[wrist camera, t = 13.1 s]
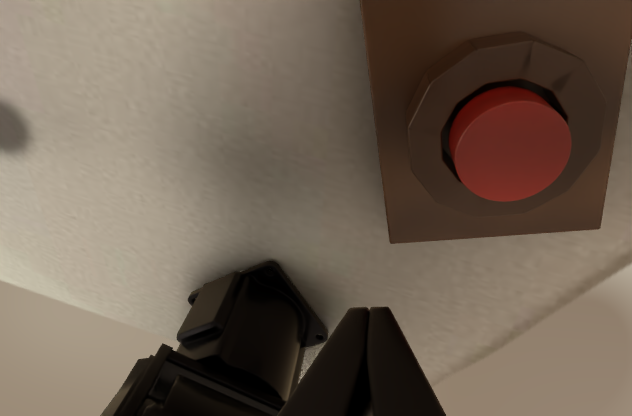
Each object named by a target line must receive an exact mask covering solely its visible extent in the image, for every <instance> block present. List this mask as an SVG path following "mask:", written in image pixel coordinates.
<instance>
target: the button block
mask: <svg viewBox="0 0 632 416" xmlns="http://www.w3.org/2000/svg"><path fill="white" fill-rule="evenodd" d="M360 7H361V15H362V23H363V31H364V39H365V47H366V55H367V63H368V71H369V79H370V87H371V95H372V103H373V111H374V119H375V127H376V135H377V143H378V151H379V159H380V167H381V175H382V183H383V191H384V199H385V207H386V215H387V223H388V231H389V239H390V243H391V244H395V243H410V242H424V241H438V240H452V239H466V238H481V237H495V236H509V235H523V234H537V233H552V232H566V231H580V230H594V229H600V226H601V220H602V213H603V207H604V201H605V195H606V189H607V183H608V177H609V171H610V165H611V159H612V153H613V147H614V141H615V135H616V128H617V122H618V116H619V110H620V104H621V98H622V92H623V86H624V80H625V74H626V68H627V62H628V56H629V50H630V43H631V37H632V0H360ZM506 86H514V87H521V88H525V89H528V90H531V91H533V92H535V93H537V94H538V95H539V96H541V97H542V98H543V99H544V100H545V101H546V102H547V103H548V104H549V105H550V106H551V107H553V108H554V109H555V110H556V111H557V112H558V113H559V114H560V115H561V116H562V117H563V119H564V120H565V121H566V123H567V125H568V127H569V130H570V133H571V140H572V144H571V152H570V156H569V159H568V162H567V164H566V166H565V168H564V169H563V171H562V172H561V174H560V175H559V176H558V177H557V179H556V180H555V181H554V182H553V183H551V184H550V185H549V186H548V187H546V188H545V189H544V190H542V191H540V192H539V193H537V194H535V195H532V196H530V197H527V198H524V199H521V200H516V201H505V202H502V201H493V200H488V199H485V198H482V197H480V196H478V195H476V194H474V193H473V192H471V191H470V190H469V189H468V188H466V186H465V185H464V184H463V183H462V182H461V180H460V178H459V176H458V174H457V172H456V168H455V165H454V162H453V159H452V156H451V152H450V149H449V133H450V129H451V126H452V123H453V121H454V119H455V117H456V115H457V114H458V112H459V111H460V110H461V109H462V108H463V106H464V105H466V104H467V103H468V102H469V101H470V100H471V99H473V98H474V97H476V96H477V95H479V94H481V93H483V92H485V91H488V90H491V89H494V88H498V87H506Z"/></svg>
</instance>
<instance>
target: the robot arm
mask: <svg viewBox="0 0 632 416" xmlns="http://www.w3.org/2000/svg"><path fill="white" fill-rule="evenodd" d="M268 269H272V270H273V271H269V270H268ZM188 302H189V303H190V305H191V306H192V308H191V309H190V311H189V313H188V315H187V317H186V319H185V320H184V322H183V324H182V326H181V328H180V330H179V331H178V333H177V340H178V341H179V342H180V345H179V347H178V349H177V351H173V350H172V349H173V348H172V347H170V346H167V345H165V344H162V345H161V347H160V348H159V350H158V352H157V354H156V355H155V356H153V355H150V357H149V358H145V359H139V360H138V361H137V363H136V364H135V366H134V367H133V369H132V371H131V372H130V374H129V376H128V377H127V379H126V381H125V382H124V384H123V385H122V387H121V389H120V390H119V392H118V393H117V394H116V395H115V397H114V398H113V399H112V401H111V402H110V403H109V405H108V406H107V407H106V409H105V410H104V411H103V413H102V414H101V415H100V416H446V414H445V412H444V411H443V408H442V407H441V405H440V403H439V401H438V399H437V397H436V395H435V393H434V391H433V390H432V388H431V386H430V384H429V382H428V380H427V378H426V376H425V374H424V372H423V371H422V369H421V367H420V365H419V363H418V361H417V359H416V357H415V355H414V353H413V352H412V350H411V348H410V346H409V344H408V342H407V340H406V338H405V336H404V334H403V333H402V331H401V329H400V327H399V325H398V323H397V321H396V319H395V317H394V315H393V314H392V312H391V310H390V308H389V307H371V308H370V310H369V309H368V308H367V307H353V308H350V309H349V310H348V311H347V313H346V314H345V316H344V317H343V319H342V320H341V321H340V323H339V324H338V326H337V327H336V329H335V330H334V332H333V333H332V335H331V336H330V338H329V339H328V330H327V329H326V328H325V326H324V325H323V324H322V322H321V321H320V319H319V318H318V317H317V315H316V314H315V313H314V311H313V310H312V309H311V307H310V306H309V305H308V303H307V302H306V301H305V299H304V298H303V297H302V295H301V294H300V293H299V291H298V290H297V289H296V287H295V286H294V285H293V283H292V282H291V281H290V279H289V278H288V277H287V275H286V274H285V273H284V271H283V270H282V269H281V267H280V266H279V265H278V264H277V263H276V262H274V261H266V262H263V263H261V264H259V265H256V266H254V267H251V268H249V269H246V270H244V271H241V272H240V271H236V272H233V273H231V274H228V275H226V276H223V277H221V278H218V279H216V280H214V281H211V282H209V283H206V284H205V285H204V286H203V287H202V288H200V289H197V290H195V291H193V292H191V294H190V296H189V298H188ZM318 334H321V335H318ZM327 339H328V341H327ZM326 341H327V342H326ZM324 342H326V344H325V345H324V347H323V348H322V350H321V351H320V353H319V354H318V356H317V357H316V358H315V360H314V361H313V363H312V364H311V366H310V367H309V369H308V370H307V372H306V373H305V375H304V376H303V378H302V379H301V381H300V382H299V377H300V372H301V367H302V362H303V357H304V352H305V348H307V347H311V346H314V345H317V344H320V343H324ZM298 382H299V384H298Z"/></svg>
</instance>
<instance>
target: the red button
mask: <svg viewBox="0 0 632 416" xmlns="http://www.w3.org/2000/svg"><path fill="white" fill-rule="evenodd" d="M571 144H572V140H571V133H570V130H569V127H568V125H567V123H566V121H565V120H564V119H563V117H562V116H561V115H560V114H559V113H558V112H557V111H556V110H555V109H554V108H553V107H551V106H550V105H549V104H548V103H547V102H546V101H545V100H544V99H543V98H542V97H541V96H539V95H538V94H537V93H535V92H533V91H531V90H528V89H525V88H521V87H514V86H506V87H498V88H494V89H491V90H488V91H485V92H483V93H481V94H479V95H477V96H476V97H474V98H473V99H471V100H470V101H469V102H468V103H467V104H466V105H464V106H463V108H462V109H461V110H460V111H459V112H458V114H457V115H456V117H455V119H454V121H453V123H452V126H451V129H450V133H449V149H450V152H451V156H452V159H453V162H454V165H455V168H456V172H457V174H458V176H459V178H460V180H461V182H462V183H463V184H464V185H465V186H466V188H468V189H469V190H470V191H471V192H473V193H474V194H476V195H478V196H480V197H482V198H485V199H488V200H493V201H502V202H505V201H516V200H521V199H524V198H527V197H530V196H532V195H535V194H537V193H539V192H540V191H542V190H544V189H545V188H546V187H548V186H549V185H550V184H551V183H553V182H554V181H555V180H556V179H557V177H558V176H559V175H560V174H561V172H562V171H563V169H564V168H565V166H566V164H567V162H568V159H569V156H570V152H571Z"/></svg>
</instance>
